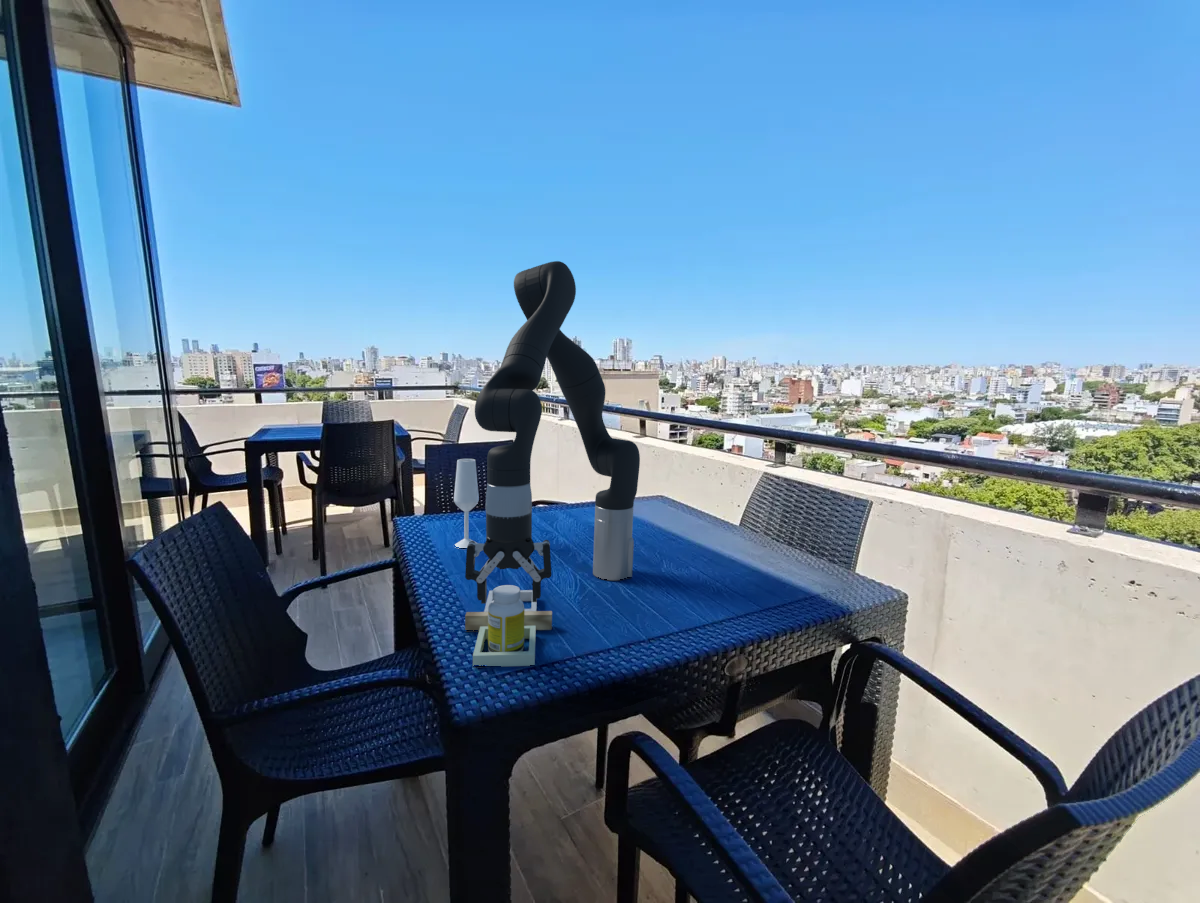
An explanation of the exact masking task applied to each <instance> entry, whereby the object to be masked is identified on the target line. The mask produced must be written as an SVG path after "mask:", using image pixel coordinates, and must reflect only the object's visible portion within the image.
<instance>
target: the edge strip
mask: <svg viewBox="0 0 1200 903" xmlns="http://www.w3.org/2000/svg"><path fill="white" fill-rule="evenodd" d="M464 617H465V618H464V620H465V621H464V623H465V624H464V626H465V628H464V630H473V631H472V632H475V631H474V630H478V631H477V632H479V630H480V626H488V612H484V611H466V612H465V615H464ZM524 626H536V631H551V630H552V629H553V611H552V610H536V611H524Z"/></svg>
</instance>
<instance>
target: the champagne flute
mask: <svg viewBox="0 0 1200 903" xmlns="http://www.w3.org/2000/svg"><path fill="white" fill-rule="evenodd" d="M476 463H477V462H476V459H474V458H460V459H457V461H456V469H455V481H454V494H453V502H454V504H455V506H457V507H458V508H459V510H461V511H463V516H464V517H463V520H464V521H463V522H464V524H463V525H464V528H463V529H464V530H463V534H464V537H463V538H462V539H461V540H459V541H458V542H456V543H455V544H454V545H455V546H456V547H459V548H467V546H468V544H469V542H470V541H474V542H475V543H477V542H476V541H475V540H472V539H471V538H470V537H469V536H470V532H469V529H470V528H469V525H470V523H469V521H470V520H469V518H470V517H469V514H470V513H469V512H470V511H472V510H473V509H474V508H475V507H476V506H477V504H478V503H479V500H480V498H479V496H480V495H479V487H478V476H477V475H478V474H477V464H476ZM456 547H455V548H456ZM459 548H458V549H459Z"/></svg>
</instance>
